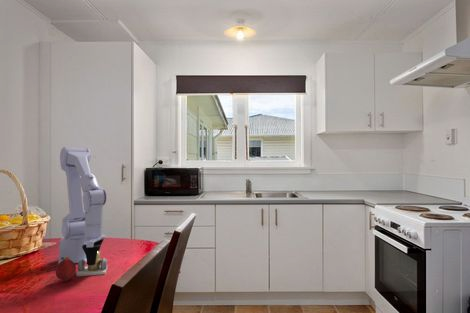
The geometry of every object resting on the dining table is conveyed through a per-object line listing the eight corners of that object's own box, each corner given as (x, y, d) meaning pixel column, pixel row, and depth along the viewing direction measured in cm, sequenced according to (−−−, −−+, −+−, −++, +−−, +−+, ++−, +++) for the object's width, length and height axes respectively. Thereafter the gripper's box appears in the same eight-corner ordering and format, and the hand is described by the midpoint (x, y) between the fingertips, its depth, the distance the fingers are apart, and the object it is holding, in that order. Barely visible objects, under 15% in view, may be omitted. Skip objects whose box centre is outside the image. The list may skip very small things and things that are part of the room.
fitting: (76, 276, 107) (76, 263, 107) (80, 269, 114) (81, 256, 114) (104, 274, 109) (105, 261, 109) (107, 267, 116) (107, 255, 116)
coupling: (86, 272, 108) (86, 254, 108) (87, 267, 113) (87, 250, 113) (100, 270, 110) (100, 253, 110) (101, 266, 114) (101, 249, 114)
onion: (61, 286, 98) (62, 260, 98) (51, 282, 101) (52, 257, 101) (79, 280, 103) (79, 256, 103) (69, 276, 106) (69, 252, 106)
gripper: (103, 227, 105) (102, 268, 105) (108, 219, 119) (107, 255, 119) (80, 228, 104) (78, 270, 104) (88, 220, 118) (87, 256, 118)
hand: (92, 262), depth 111 cm, fingers open, 5 cm apart
